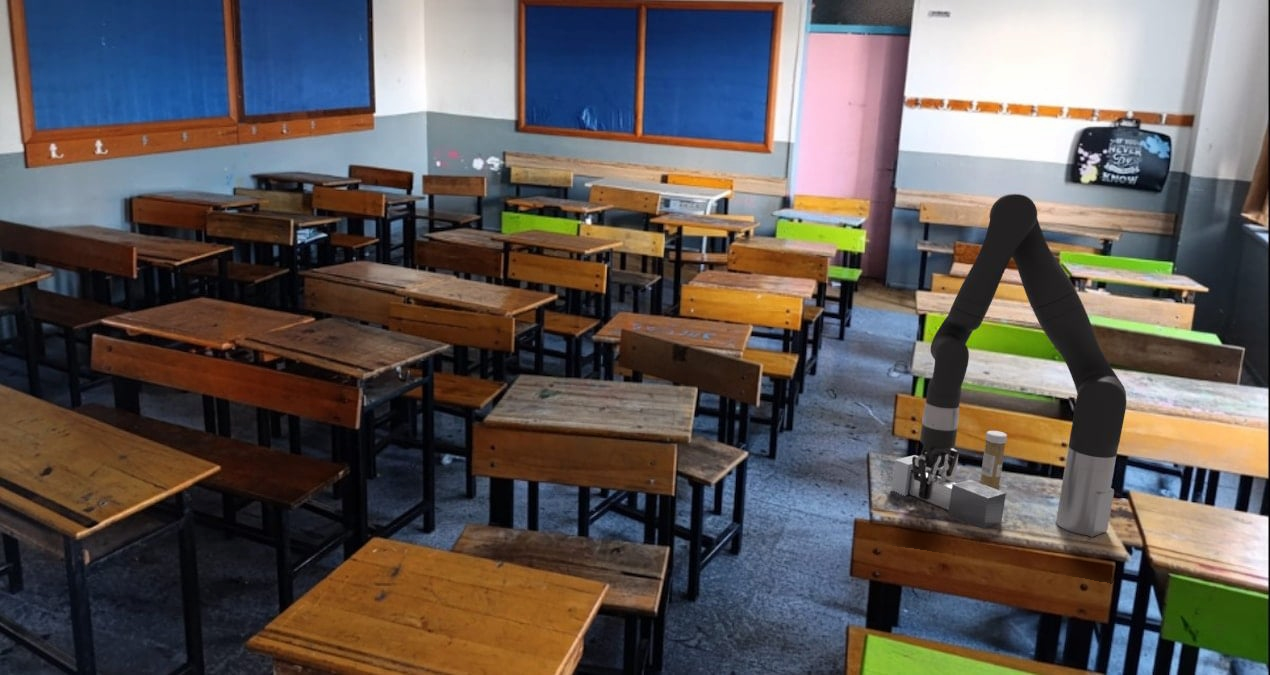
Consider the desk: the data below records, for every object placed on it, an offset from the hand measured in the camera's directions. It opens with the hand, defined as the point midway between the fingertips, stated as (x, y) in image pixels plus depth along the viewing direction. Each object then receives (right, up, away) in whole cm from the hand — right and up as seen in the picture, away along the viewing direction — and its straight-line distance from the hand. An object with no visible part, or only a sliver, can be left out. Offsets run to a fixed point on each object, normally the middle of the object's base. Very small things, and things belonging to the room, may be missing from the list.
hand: (930, 496), depth 214 cm
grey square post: (+1, -1, -2) cm, 2 cm away
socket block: (-4, 0, +5) cm, 6 cm away
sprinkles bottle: (+17, 0, +11) cm, 20 cm away
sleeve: (+7, -3, -9) cm, 11 cm away
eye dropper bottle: (+7, +1, +13) cm, 14 cm away
